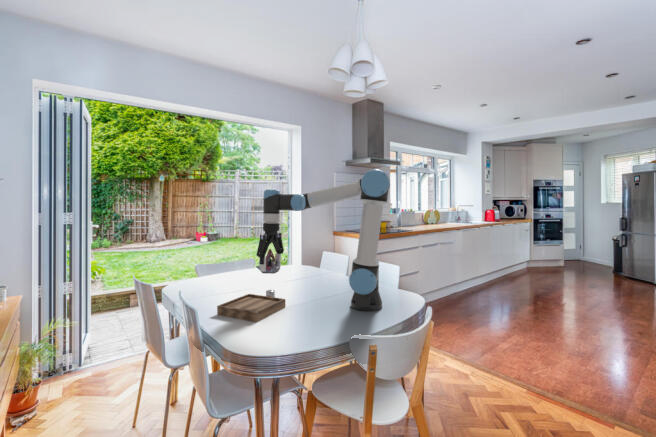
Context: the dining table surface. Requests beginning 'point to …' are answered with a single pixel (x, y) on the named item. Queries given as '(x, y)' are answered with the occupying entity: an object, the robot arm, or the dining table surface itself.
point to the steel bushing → (270, 293)
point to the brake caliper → (270, 264)
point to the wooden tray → (251, 307)
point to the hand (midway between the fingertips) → (270, 269)
